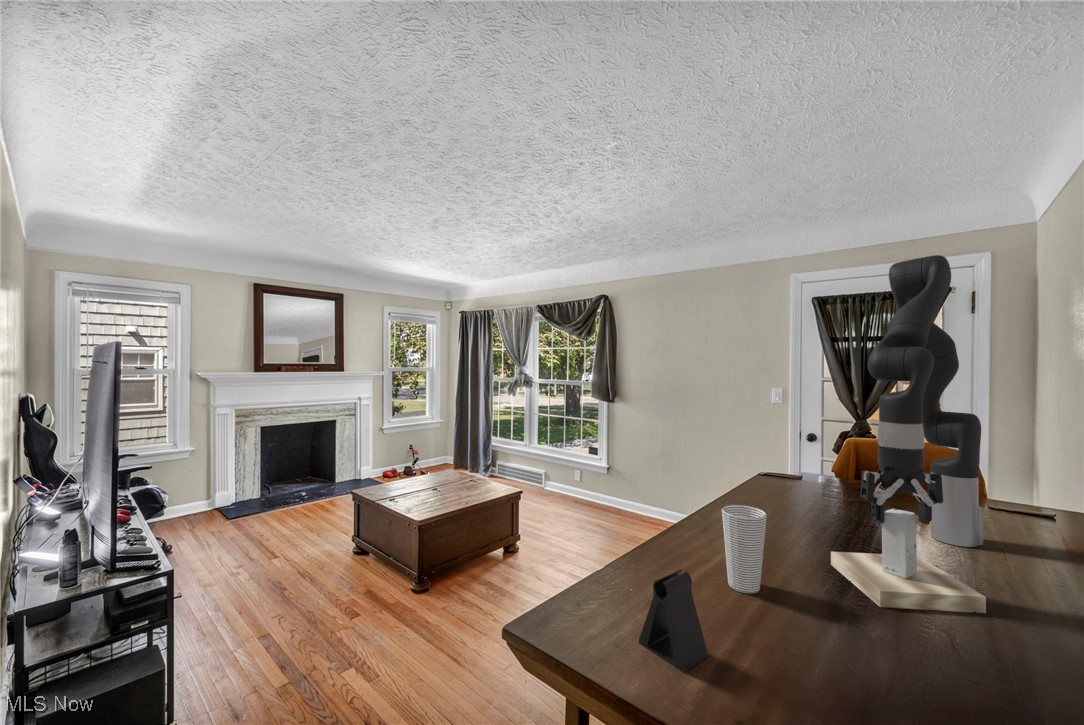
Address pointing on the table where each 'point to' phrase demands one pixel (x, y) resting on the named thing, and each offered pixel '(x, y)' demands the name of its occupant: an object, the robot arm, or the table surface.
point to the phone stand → (674, 623)
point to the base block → (907, 585)
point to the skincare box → (899, 543)
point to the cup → (744, 546)
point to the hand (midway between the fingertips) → (901, 522)
